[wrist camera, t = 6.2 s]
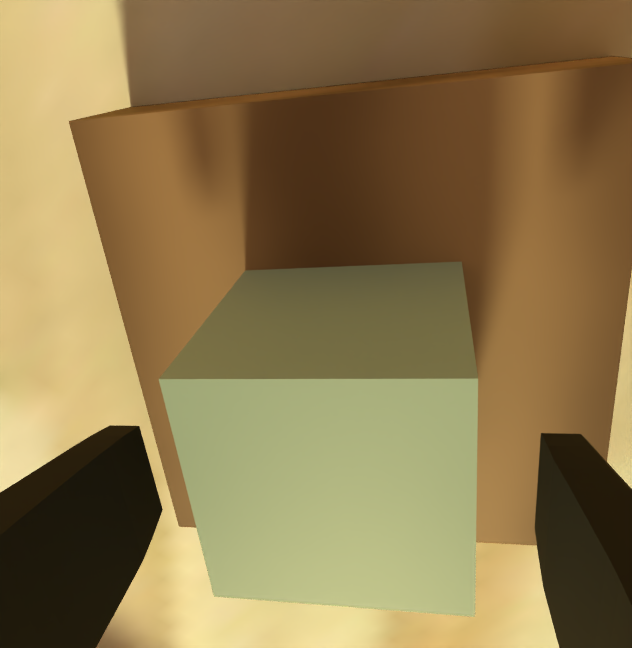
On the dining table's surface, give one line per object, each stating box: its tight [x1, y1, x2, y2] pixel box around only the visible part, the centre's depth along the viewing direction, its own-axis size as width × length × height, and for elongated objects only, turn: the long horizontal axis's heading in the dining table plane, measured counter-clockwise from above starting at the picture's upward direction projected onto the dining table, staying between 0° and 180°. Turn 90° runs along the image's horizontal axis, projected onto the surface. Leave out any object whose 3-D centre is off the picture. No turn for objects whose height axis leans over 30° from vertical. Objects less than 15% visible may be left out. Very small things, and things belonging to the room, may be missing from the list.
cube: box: [159, 262, 478, 617], centre depth 12 cm, size 5×5×5 cm
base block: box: [69, 56, 632, 545], centre depth 16 cm, size 12×12×3 cm
